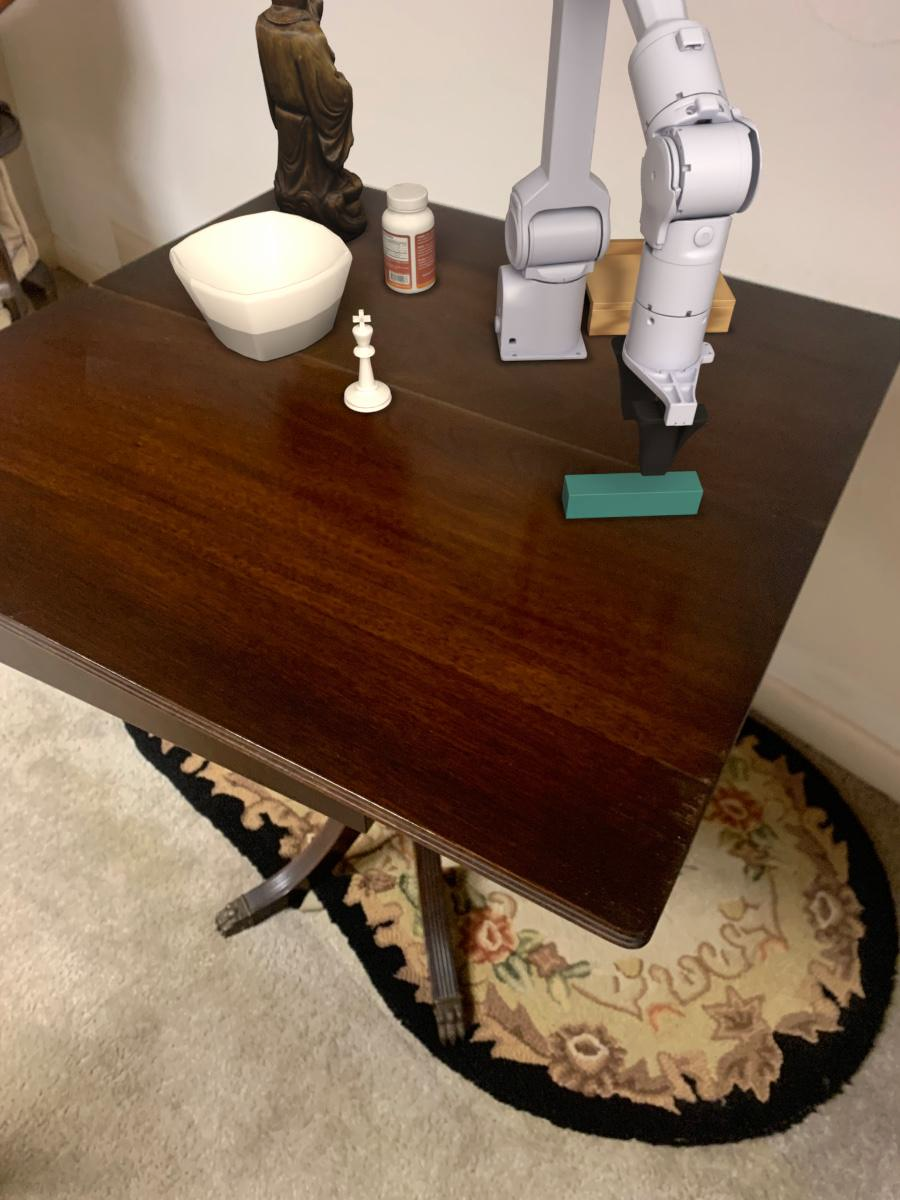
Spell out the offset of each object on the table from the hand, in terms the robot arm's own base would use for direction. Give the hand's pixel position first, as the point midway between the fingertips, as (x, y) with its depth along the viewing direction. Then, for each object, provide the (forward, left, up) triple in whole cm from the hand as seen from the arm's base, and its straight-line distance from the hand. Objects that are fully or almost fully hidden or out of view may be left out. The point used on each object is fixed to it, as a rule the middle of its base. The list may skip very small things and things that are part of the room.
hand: (643, 444), depth 76 cm
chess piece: (-24, +18, -7) cm, 31 cm away
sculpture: (-30, +57, -7) cm, 65 cm away
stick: (0, 0, -7) cm, 7 cm away
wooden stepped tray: (+9, +35, -7) cm, 37 cm away
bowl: (-35, +32, -7) cm, 48 cm away
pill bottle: (-19, +42, -7) cm, 47 cm away
